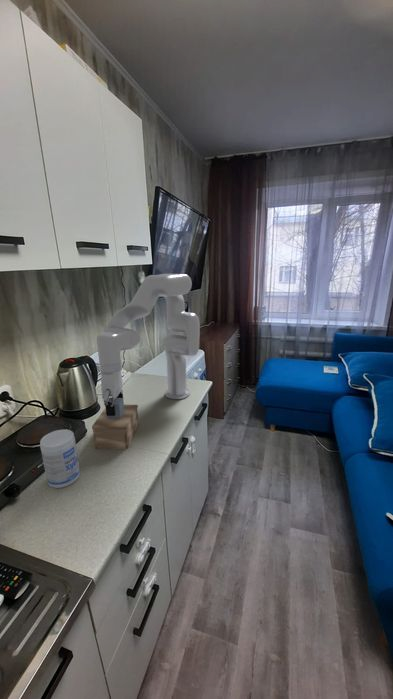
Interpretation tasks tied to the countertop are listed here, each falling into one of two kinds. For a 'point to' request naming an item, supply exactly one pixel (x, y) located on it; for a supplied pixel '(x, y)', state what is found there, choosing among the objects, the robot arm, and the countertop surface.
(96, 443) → the box
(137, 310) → the robot arm
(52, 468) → the supplement tub
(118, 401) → the block
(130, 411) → the lid
